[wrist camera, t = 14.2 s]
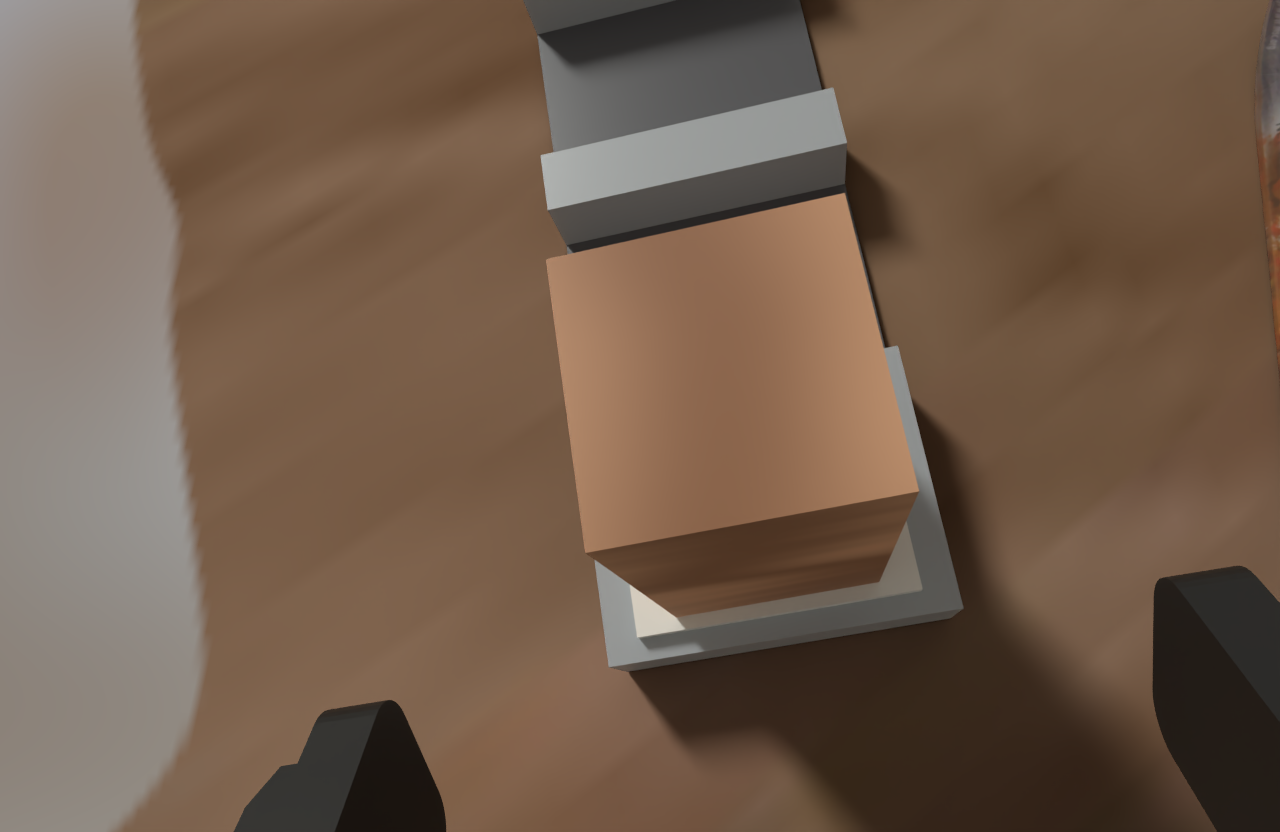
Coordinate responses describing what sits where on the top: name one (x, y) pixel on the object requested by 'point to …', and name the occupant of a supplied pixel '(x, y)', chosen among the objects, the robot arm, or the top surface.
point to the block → (732, 409)
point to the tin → (1270, 147)
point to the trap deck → (699, 194)
